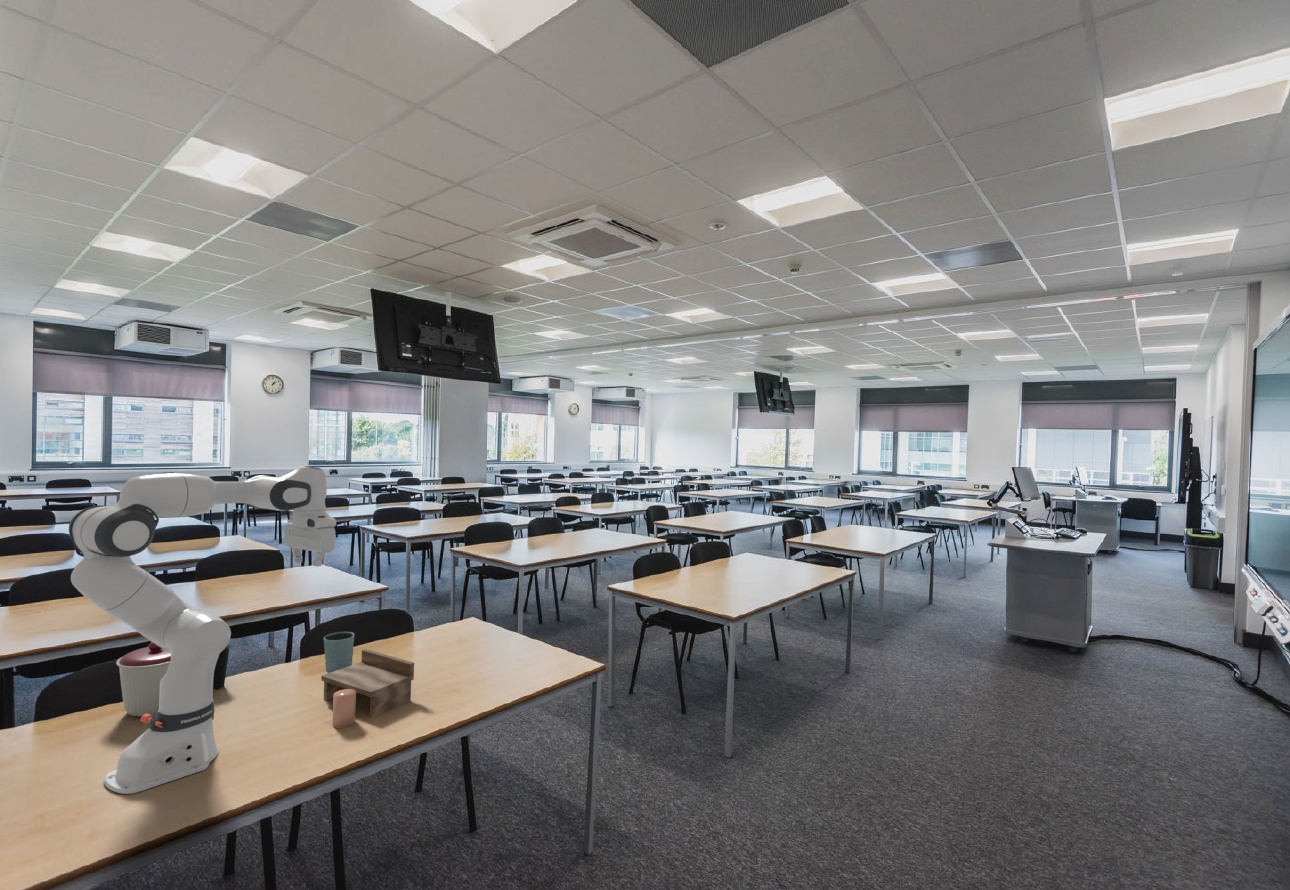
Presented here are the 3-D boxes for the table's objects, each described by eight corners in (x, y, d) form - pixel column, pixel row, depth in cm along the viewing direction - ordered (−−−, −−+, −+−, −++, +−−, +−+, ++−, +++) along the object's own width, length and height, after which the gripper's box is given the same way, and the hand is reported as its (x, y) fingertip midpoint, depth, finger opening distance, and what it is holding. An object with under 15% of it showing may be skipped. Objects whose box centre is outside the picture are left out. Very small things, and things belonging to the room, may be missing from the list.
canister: (112, 708, 181) (114, 639, 181) (186, 692, 194) (188, 627, 194) (116, 729, 169) (119, 655, 169) (195, 710, 181) (198, 642, 181)
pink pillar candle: (341, 729, 172) (342, 699, 173) (327, 724, 175) (328, 694, 175) (359, 721, 178) (360, 691, 178) (346, 716, 181) (347, 687, 181)
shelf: (370, 718, 180) (371, 679, 180) (320, 700, 191) (321, 663, 191) (413, 699, 194) (414, 662, 194) (364, 683, 205) (365, 648, 205)
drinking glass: (352, 671, 215) (353, 638, 215) (320, 674, 212) (321, 641, 212) (354, 661, 225) (355, 630, 225) (324, 664, 221) (325, 632, 221)
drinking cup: (214, 693, 194) (216, 632, 194) (195, 690, 195) (197, 630, 195) (235, 684, 201) (236, 625, 201) (216, 681, 203) (218, 623, 203)
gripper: (278, 517, 183) (276, 561, 183) (320, 522, 173) (318, 570, 173) (298, 515, 189) (297, 558, 188) (340, 520, 179) (338, 566, 179)
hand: (307, 564), depth 181 cm, fingers open, 8 cm apart
